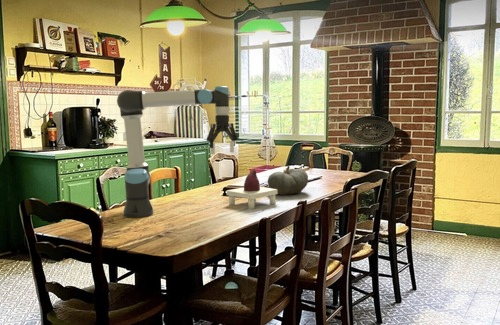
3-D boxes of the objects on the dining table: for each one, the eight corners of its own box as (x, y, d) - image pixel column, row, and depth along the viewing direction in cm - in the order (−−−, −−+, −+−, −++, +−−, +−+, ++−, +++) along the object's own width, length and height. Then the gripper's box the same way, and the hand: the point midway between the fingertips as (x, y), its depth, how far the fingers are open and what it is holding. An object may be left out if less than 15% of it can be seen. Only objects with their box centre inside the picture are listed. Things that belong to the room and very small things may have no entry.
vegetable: (262, 194, 271) (268, 171, 268) (249, 195, 265) (255, 171, 262) (251, 188, 278) (257, 166, 275) (239, 188, 272) (244, 165, 269)
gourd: (318, 188, 298) (312, 161, 295) (287, 201, 284) (280, 172, 282) (293, 188, 319) (287, 162, 316) (262, 199, 305) (256, 172, 303)
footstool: (227, 204, 273) (226, 190, 272) (253, 199, 286) (252, 185, 285) (251, 209, 258) (250, 194, 257) (277, 203, 271) (277, 189, 270)
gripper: (235, 114, 279) (235, 151, 282) (199, 115, 263) (200, 154, 265) (243, 114, 274) (244, 152, 276) (208, 115, 257) (208, 155, 260)
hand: (222, 153), depth 271 cm, fingers open, 13 cm apart
